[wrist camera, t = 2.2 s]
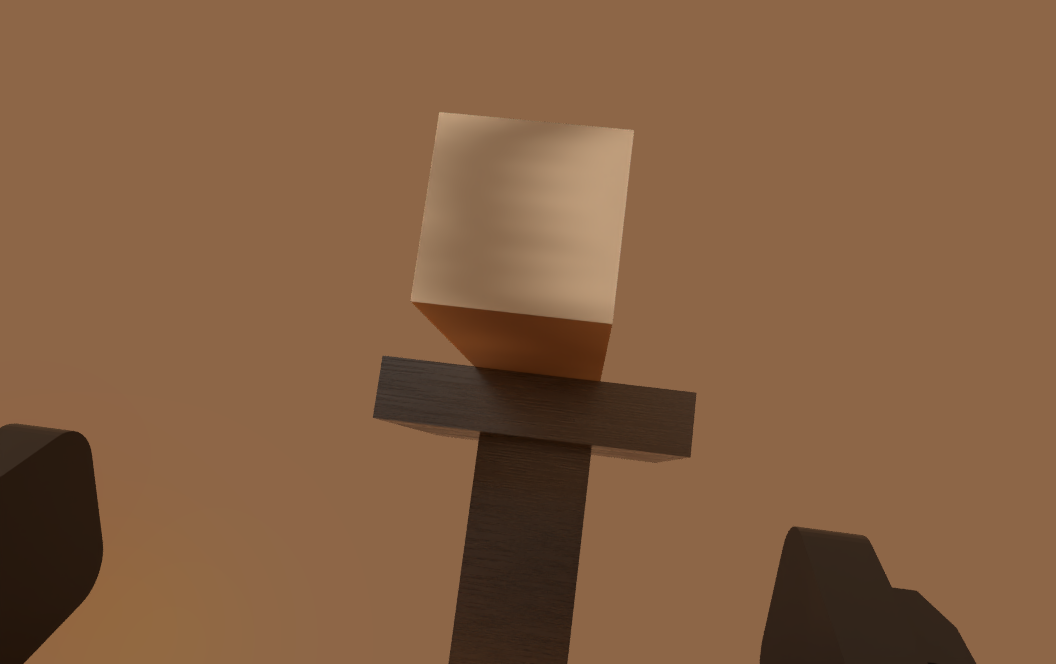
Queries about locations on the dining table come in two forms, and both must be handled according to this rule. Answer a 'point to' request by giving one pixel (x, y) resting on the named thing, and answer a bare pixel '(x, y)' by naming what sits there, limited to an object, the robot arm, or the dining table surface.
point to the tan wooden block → (524, 242)
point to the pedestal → (528, 486)
